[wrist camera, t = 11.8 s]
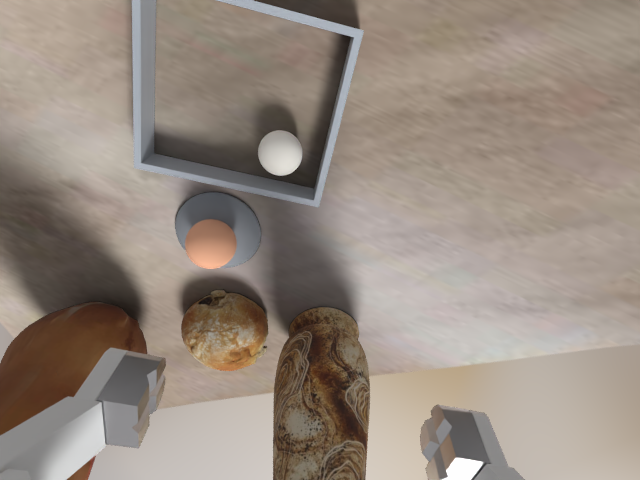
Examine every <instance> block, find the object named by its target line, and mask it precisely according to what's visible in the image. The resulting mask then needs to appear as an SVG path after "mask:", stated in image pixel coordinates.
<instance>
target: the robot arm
mask: <svg viewBox="0 0 640 480" xmlns="http://www.w3.org/2000/svg"><path fill="white" fill-rule="evenodd" d="M165 366H166V362H165V358H162V357H157V356H152V355H147V354H142V353H137V352H132V351H127V350H121V349H116V348H109V349H108V350H107V351H106V352H105V353H104V354H103V356H102V357H101V359H100V360H99V362H98V363H97V364H96V366H95V367H94V369H93V370H92V372H91V373H90V374H89V376H88V377H87V379H86V380H85V382H84V383H83V384H82V386H81V387H80V389H79V390H78V392H77V393H76V395H75V396H74V397H69V396H68V397H66V398H64V399H63V400H61V401H59V402H57V403H56V404H54V405H52V406H51V407H49V408H47V409H45V410H44V411H42V412H40V413H39V414H37V415H35V416H33V417H32V418H30V419H28V420H26V421H25V422H23V423H21V424H20V425H18V426H16V427H14V428H13V429H11V430H9V431H8V432H6V433H4V434H2V435H1V436H0V480H67V479H68V478H69V477H70V476H71V475H73V474H74V473H75V472H76V471H77V470H78V469H80V468H81V467H82V466H83V465H84V464H86V463H87V462H88V461H89V460H90V459H92V458H93V457H94V456H95V455H96V454H97V453H99V452H100V451H101V450H102V449H103V448H104V447H106V444H107V445H115V446H123V447H132V448H139V446H140V444H141V442H142V440H143V438H144V436H145V434H146V431H147V429H148V427H149V415H150V414H152V413H153V412H154V411H156V409H157V407H158V405H159V402H160V400H161V397H162V394H163V391H164V385H165V376H164V375H163V374H162V373H163V371H164V368H165ZM431 415H432V418H430V419H428V420H426V421H425V422H424V424H423V426H422V428H421V434H420V443H421V449H422V453H423V455H424V456H425V457H426V459H427V460H428V461H429V462H428V464H427V467H426V473H427V477H428V480H524V479H523V477H522V476H521V475H520V474H519V473H518V472H517V471H516V470H515V469H514V468H511V467H508V464H507V461H506V459H505V457H504V454H503V452H502V449H501V447H500V445H499V442H498V440H497V437H496V435H495V432H494V430H493V428H492V425H491V423H490V420H489V418H488V416H487V415H486V414H485V413H482V412H477V411H471V410H467V409H461V408H455V407H448V406H442V405H436V406H434V407H433V409H432V410H431Z"/></svg>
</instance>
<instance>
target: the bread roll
mask: <svg viewBox="0 0 640 480" xmlns="http://www.w3.org/2000/svg"><path fill="white" fill-rule="evenodd" d="M210 293H211V295H208V296H206V297H204V298H202V299H200V300H199V301H198V302H195V303H194V304H193V305H192V306H191V307H190V308H189V309H188V310H187V311H186V313H185V315H184V318H183V321H182V327H181V330H182V338H183V341H184V344H185V346H186V348H187V349H188V351H189V352H190V353H191V354H192V356H193V357H195V359H196V360H198V361H199V362H201V363H202V364H204V365H205V366H208V367H210V368H213V369H217V370H220V371H222V370H223V371H233V370H237V369H241V368H243V367H246V366H249V365H251V364H254V363H256V359H257V358H258V357H262V356H263V355H264V353H265V352H266V350H267V346H266V347H265V346H264V347H263V345H264V343H265V341H266V337H267V335H268V323H267V321H268V320H267V318H266V316H265V313H264V311H263V310H262V308H261V307H259V306H258V305H257V304H256V303H255V302H254V301H251V300H249V299H248V298H246V297H244V296H242V295H239V294H236V293H226V292H225V291H224V290H215V291H213V292H210Z"/></svg>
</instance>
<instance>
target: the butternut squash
mask: <svg viewBox="0 0 640 480" xmlns="http://www.w3.org/2000/svg"><path fill="white" fill-rule="evenodd" d="M109 348H116V349H121V350H127V351H132V352H137V353H142V354H147V348H146V341H145V338H144V335H143V332H142V331H141V329H140V328H139V323H138V321H137V320H135V319H133V318H131V317H129V316H128V315H127V314H126V313H125V312H124V311H123V309H122V308H121V307H117V306H114V305H111V304H106V303H102V302H88V303H83V304H79V305H76V306H72V307H69V308H65V309H62V310H60V311H57V312H54V313H51V314H49V315H46V316H44V317H43V318H41V319H39V320H37V321H36V322H34V323H32V324H31V325H29V326H28V327H27V328H25V329H24V330H23V331H22V332H21V333H20V334H19V335H18V336H17V337H16V338H15V339H14V340H13V341H12V342H11V344H10V345H9V347H8V348H7V350H6V352H5V355H4V356H3V358H2V360H1V363H0V436H1V435H2V434H4V433H6V432H8V431H9V430H11V429H13V428H14V427H16V426H18V425H20V424H21V423H23V422H25V421H26V420H28V419H30V418H32V417H33V416H35V415H37V414H39V413H40V412H42V411H44V410H45V409H47V408H49V407H51V406H52V405H54V404H56V403H57V402H59V401H61V400H63V399H64V398H66V397H68V396H69V397H74V396H75V395H76V393H77V392H78V390H79V389H80V387H81V386H82V384H83V383H84V382H85V380H86V379H87V377H88V376H89V374H90V373H91V372H92V370H93V369H94V367H95V366H96V364H97V363H98V362H99V360H100V359H101V357H102V356H103V354H104V353H105V352H106V351H107V350H108V349H109ZM95 457H96V455H95V456H94V457H93V458H92V459H90V460H89V461H88V462H87V463H86V464H84V465H83V466H82V467H81V468H80V469H78V470H77V471H76V472H75V473H74V474H73V475H71V476H70V477H69V478H68V479H67V480H88V477H89V475H90V471H91V468H92V465H93V462H94V460H95Z"/></svg>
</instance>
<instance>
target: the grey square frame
mask: <svg viewBox="0 0 640 480" xmlns="http://www.w3.org/2000/svg"><path fill="white" fill-rule="evenodd" d="M217 1H221V2H224V3H228V4H232V5H235V6H239V7H243V8H247V9H250V10H254V11H258V12H261V13H265V14H269V15H272V16H276V17H280V18H284V19H287V20H291V21H295V22H298V23H302V24H306V25H309V26H313V27H317V28H321V29H324V30H328V31H332V32H335V33H339V34H343V35H346V36H350V37H351V39H350V44H349V48H348V52H347V56H346V60H345V64H344V68H343V72H342V77H341V81H340V85H339V89H338V93H337V97H336V101H335V106H334V110H333V114H332V118H331V122H330V126H329V130H328V134H327V139H326V143H325V147H324V151H323V155H322V159H321V163H320V167H319V172H318V176H317V180H316V184H315V188H309V187H305V186H300V185H296V184H291V183H287V182H282V181H278V180H273V179H268V178H264V177H259V176H255V175H250V174H246V173H241V172H237V171H232V170H227V169H223V168H218V167H214V166H209V165H205V164H200V163H196V162H191V161H187V160H182V159H177V158H173V157H168V156H164V155H159V154H155V153H154V119H155V50H156V0H132V48H133V126H134V168H137V169H141V170H146V171H151V172H155V173H160V174H165V175H169V176H174V177H179V178H183V179H188V180H193V181H197V182H202V183H207V184H211V185H216V186H221V187H225V188H230V189H235V190H239V191H244V192H249V193H253V194H258V195H263V196H267V197H272V198H277V199H281V200H286V201H291V202H295V203H300V204H305V205H309V206H314V207H319V205H320V201H321V197H322V193H323V189H324V185H325V181H326V177H327V173H328V169H329V165H330V161H331V158H332V154H333V150H334V146H335V142H336V138H337V134H338V130H339V126H340V122H341V118H342V114H343V110H344V107H345V103H346V99H347V95H348V91H349V87H350V83H351V79H352V75H353V71H354V67H355V63H356V60H357V56H358V52H359V48H360V44H361V40H362V36H363V32H364V31H363V30H360V29H356V28H352V27H349V26H345V25H341V24H338V23H334V22H330V21H327V20H323V19H319V18H316V17H312V16H308V15H305V14H301V13H297V12H294V11H290V10H286V9H283V8H279V7H275V6H272V5H268V4H264V3H261V2H257V1H254V0H217Z"/></svg>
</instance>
